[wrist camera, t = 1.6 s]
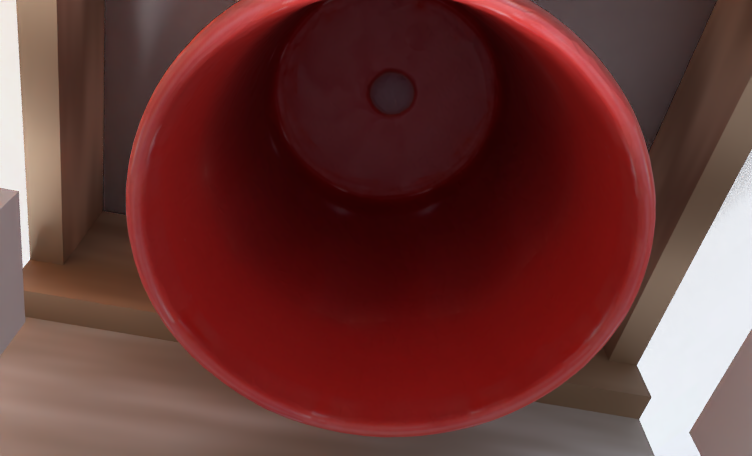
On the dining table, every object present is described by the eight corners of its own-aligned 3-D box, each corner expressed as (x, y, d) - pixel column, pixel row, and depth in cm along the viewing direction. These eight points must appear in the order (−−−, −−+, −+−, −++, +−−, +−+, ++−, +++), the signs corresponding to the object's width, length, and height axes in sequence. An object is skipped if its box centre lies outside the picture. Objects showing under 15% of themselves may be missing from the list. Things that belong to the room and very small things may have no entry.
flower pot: (546, -132, 19) (673, -94, 11) (561, 212, 24) (653, 416, 16) (177, -61, 20) (27, 25, 12) (271, 253, 25) (215, 465, 17)
